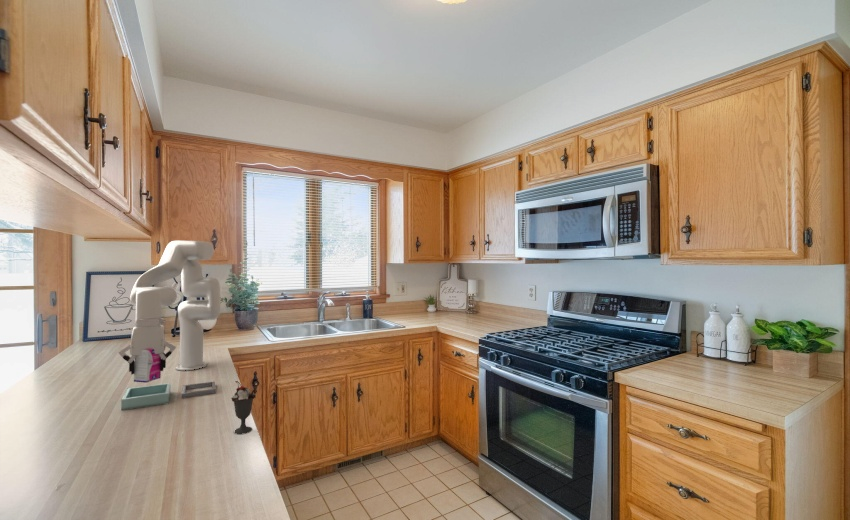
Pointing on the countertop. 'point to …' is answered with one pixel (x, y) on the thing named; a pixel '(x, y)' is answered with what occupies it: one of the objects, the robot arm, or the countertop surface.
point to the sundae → (243, 406)
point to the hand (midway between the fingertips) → (147, 371)
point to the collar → (196, 393)
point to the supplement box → (147, 366)
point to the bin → (146, 396)
